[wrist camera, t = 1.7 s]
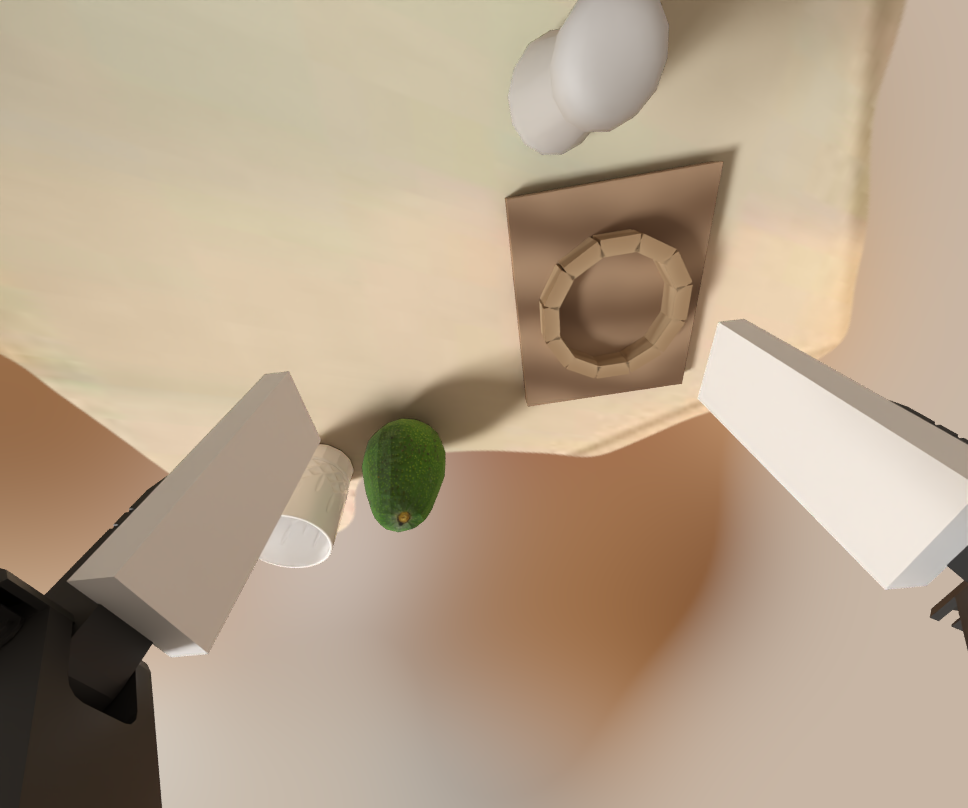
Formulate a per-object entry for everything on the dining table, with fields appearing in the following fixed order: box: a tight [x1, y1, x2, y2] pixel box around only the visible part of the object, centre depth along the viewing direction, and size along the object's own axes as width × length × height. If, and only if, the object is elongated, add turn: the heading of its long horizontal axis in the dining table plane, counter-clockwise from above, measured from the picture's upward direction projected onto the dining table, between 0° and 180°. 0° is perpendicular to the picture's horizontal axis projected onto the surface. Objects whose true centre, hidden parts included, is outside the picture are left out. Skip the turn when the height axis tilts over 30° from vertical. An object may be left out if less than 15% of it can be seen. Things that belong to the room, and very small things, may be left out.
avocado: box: [362, 419, 445, 532], centre depth 33 cm, size 8×8×12 cm
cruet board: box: [505, 161, 723, 406], centre depth 30 cm, size 18×15×4 cm
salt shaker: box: [508, 0, 669, 155], centre depth 18 cm, size 6×6×13 cm
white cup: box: [259, 444, 353, 568], centre depth 37 cm, size 8×8×10 cm
